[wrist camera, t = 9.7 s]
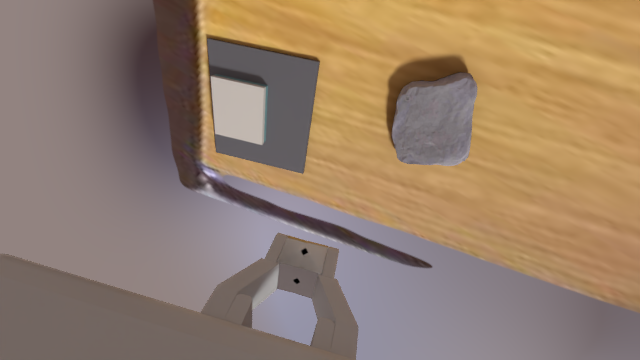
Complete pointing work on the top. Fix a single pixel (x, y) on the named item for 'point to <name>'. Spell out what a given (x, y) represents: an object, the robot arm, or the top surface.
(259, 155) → the mat
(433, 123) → the stone block
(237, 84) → the tile
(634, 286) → the top surface
